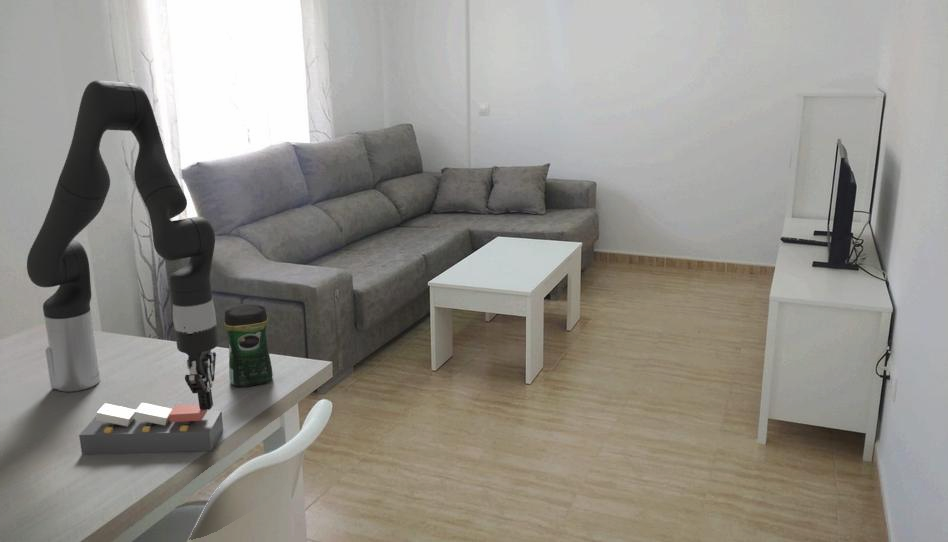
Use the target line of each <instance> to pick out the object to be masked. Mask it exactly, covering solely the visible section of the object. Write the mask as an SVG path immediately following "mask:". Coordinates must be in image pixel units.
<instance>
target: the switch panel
mask: <svg viewBox="0 0 948 542" xmlns="http://www.w3.org/2000/svg"><path fill="white" fill-rule="evenodd" d="M222 413H223V411H222V410H207V412H206V414H205V416H204V417H203V419H202V420H201V421H184V422H170V420H169V421H168V422H167V424H166V425H165V426H164V425H160V424H155V423H150V422H145V421H140V420H136V419H133V421H132V422H131V423H130V424H129V426H123V425H118V424H113V423H108V422H103V421H99V420H96V416H95V417H94V418H93V419H91V421H90V422H89V423H88V425H87V426H86V427H85V428H84V429H83V430H82V431H81V432H80V433H79V435H78V436H79V443H80V449H81V455H99V454H104V455H105V454H134V453H135V454H137V453H138V454H139V453H143V454H144V453H146V454H147V453H148V454H149V453H176V452H177V453H179V452H180V453H182V452H183V453H185V452H186V453H187V452H212V450H213V449H214V447H215V445H216V443H217V441H218V440H219V437H220V435H221V434H222V432H223V431H224V426H223V425H224V424H223V414H222Z"/></svg>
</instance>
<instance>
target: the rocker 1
mask: <svg viewBox="0 0 948 542" xmlns="http://www.w3.org/2000/svg"><path fill="white" fill-rule="evenodd" d="M135 410H136V409H134V408H130V407H125V406H121V405H115V404H110V403H106V402H104V404H103V405H102V406H101V407H100V408H99V409H98V411H96V415H95V417H96V420H99V421H103V422H108V423H113V424H118V425H123V426H129V424H130V423H131V422H132V421H133V418H134V412H135Z"/></svg>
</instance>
